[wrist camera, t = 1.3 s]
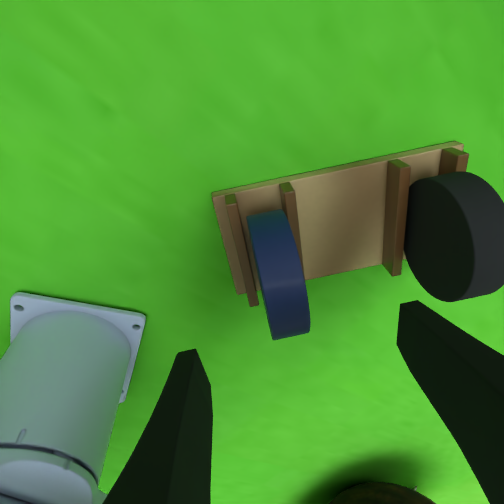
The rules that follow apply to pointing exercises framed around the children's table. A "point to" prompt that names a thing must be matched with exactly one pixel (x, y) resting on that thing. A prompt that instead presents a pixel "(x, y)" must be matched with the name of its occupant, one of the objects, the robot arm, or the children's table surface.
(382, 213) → the disc rack
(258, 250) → the navy disc
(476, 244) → the rubber puck
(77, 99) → the children's table surface
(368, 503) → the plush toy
